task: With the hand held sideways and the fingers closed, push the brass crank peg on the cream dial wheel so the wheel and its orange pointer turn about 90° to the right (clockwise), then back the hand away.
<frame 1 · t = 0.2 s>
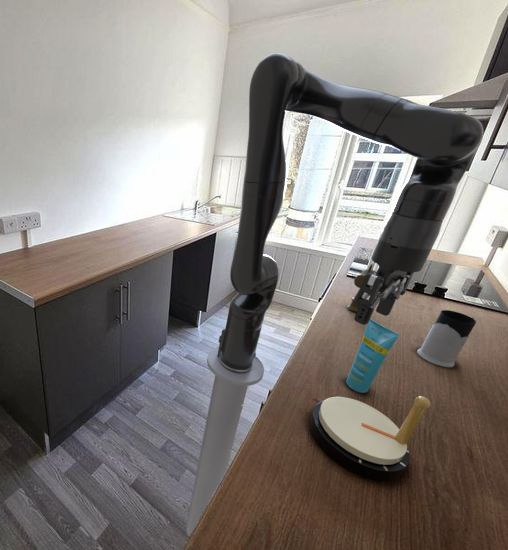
hand: (371, 317, 60), 26 cm above the worktop, tool pointing down, fingers open, 8 cm apart
tube: (356, 387, 79), on the worktop
dial base: (353, 440, 63), on the worktop
kendama: (353, 310, 119), on the worktop
wheel: (369, 407, 60), point 10 cm above the worktop, hinge at 0.0°
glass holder: (440, 356, 93), on the worktop
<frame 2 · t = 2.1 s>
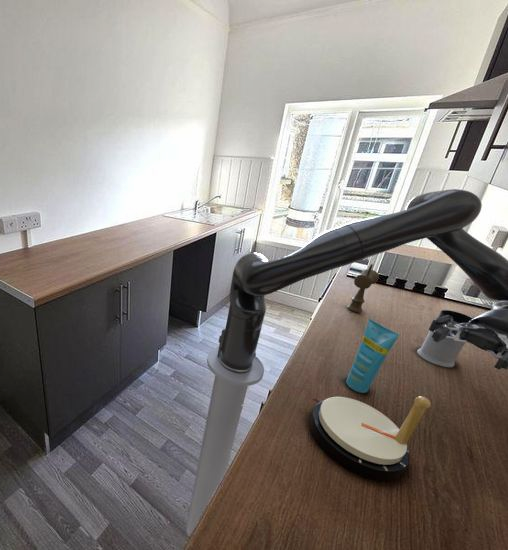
hand: (466, 349, 54), 24 cm above the worktop, tool horizontal, fingers open, 8 cm apart
nothing on the worktop moved.
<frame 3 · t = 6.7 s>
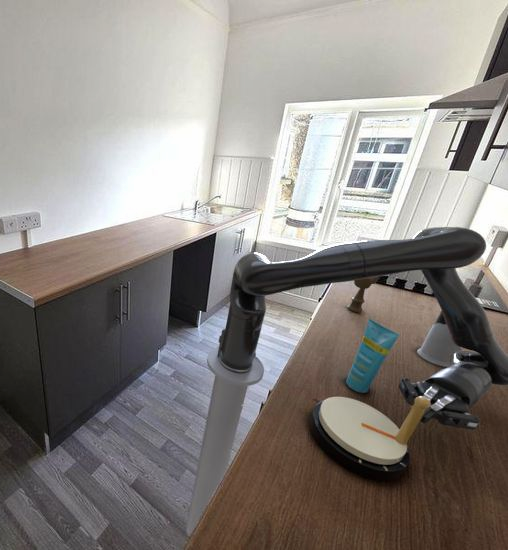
hand: (416, 417, 56), 11 cm above the worktop, tool horizontal, fingers closed
wheel: (369, 407, 60), point 10 cm above the worktop, hinge at -0.4°, touching gripper
everything else where it was.
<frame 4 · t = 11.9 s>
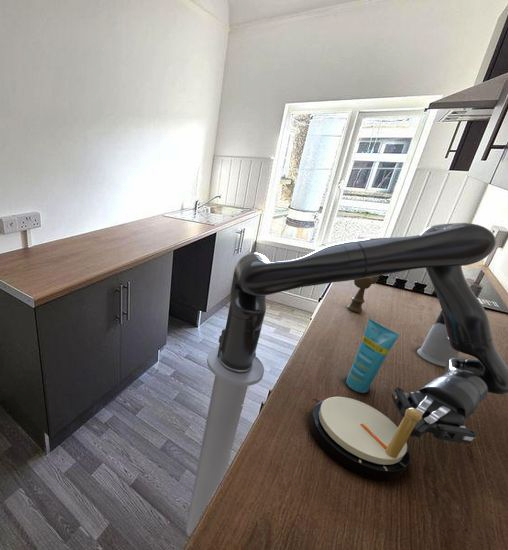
hand: (409, 430, 53), 11 cm above the worktop, tool horizontal, fingers closed
wheel: (369, 407, 60), point 10 cm above the worktop, hinge at -46.2°, touching gripper
everything else where it was.
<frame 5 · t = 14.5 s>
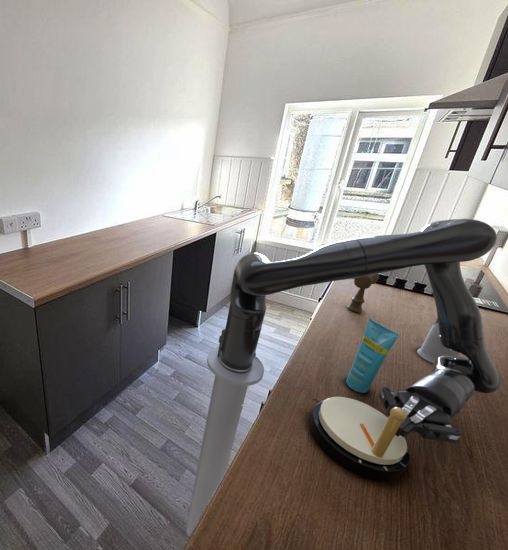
hand: (395, 430, 53), 11 cm above the worktop, tool horizontal, fingers closed
wheel: (369, 407, 60), point 10 cm above the worktop, hinge at -69.9°, touching gripper
everything else where it was.
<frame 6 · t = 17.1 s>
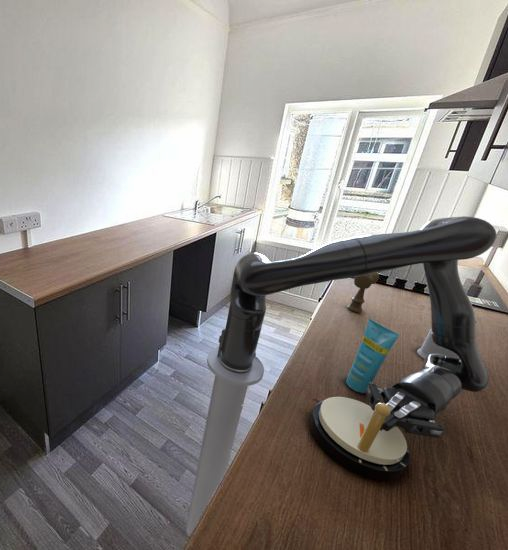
hand: (378, 424, 54), 11 cm above the worktop, tool horizontal, fingers closed
wheel: (369, 407, 60), point 10 cm above the worktop, hinge at -90.4°
everything else where it was.
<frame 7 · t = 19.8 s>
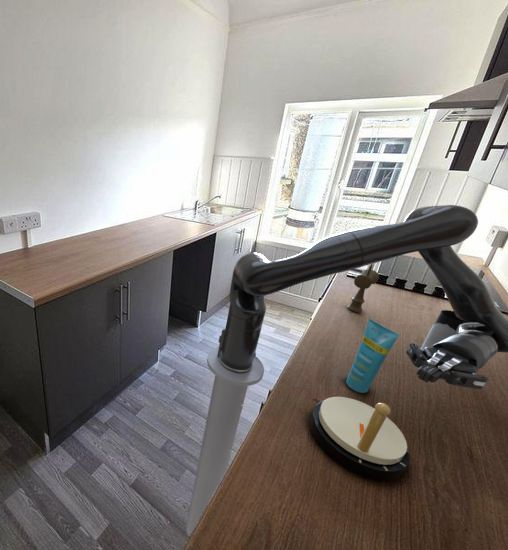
hand: (424, 376, 57), 17 cm above the worktop, tool horizontal, fingers closed
nothing on the worktop moved.
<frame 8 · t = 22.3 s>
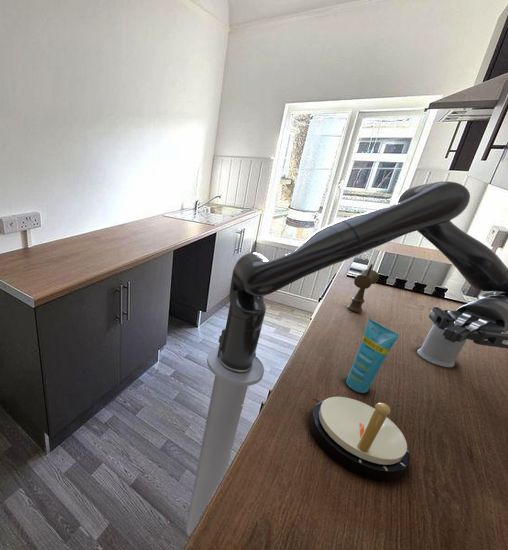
hand: (451, 336, 55), 26 cm above the worktop, tool horizontal, fingers closed
nothing on the worktop moved.
at the end: wheel at -90° (first picture: +0°); tube moved 0.2 cm from its start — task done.
